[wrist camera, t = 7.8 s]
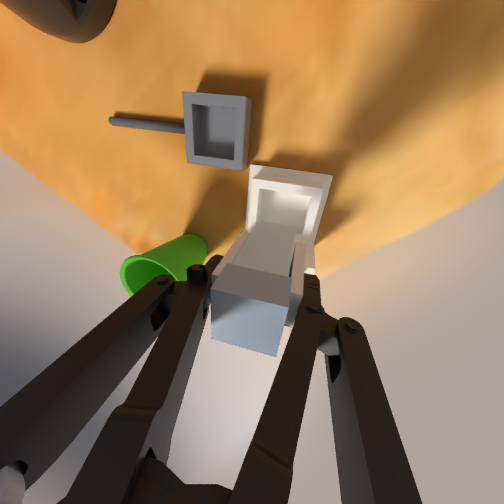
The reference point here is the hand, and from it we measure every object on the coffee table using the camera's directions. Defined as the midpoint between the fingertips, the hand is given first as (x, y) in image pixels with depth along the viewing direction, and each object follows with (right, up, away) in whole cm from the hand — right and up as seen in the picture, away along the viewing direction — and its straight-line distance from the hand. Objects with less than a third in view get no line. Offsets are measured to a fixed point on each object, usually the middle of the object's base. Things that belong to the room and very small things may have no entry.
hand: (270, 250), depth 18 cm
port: (+3, +6, +10) cm, 12 cm away
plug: (+1, +1, +2) cm, 2 cm away
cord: (-14, +16, +9) cm, 23 cm away
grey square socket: (-5, +14, +7) cm, 17 cm away
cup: (-11, +1, +17) cm, 20 cm away
